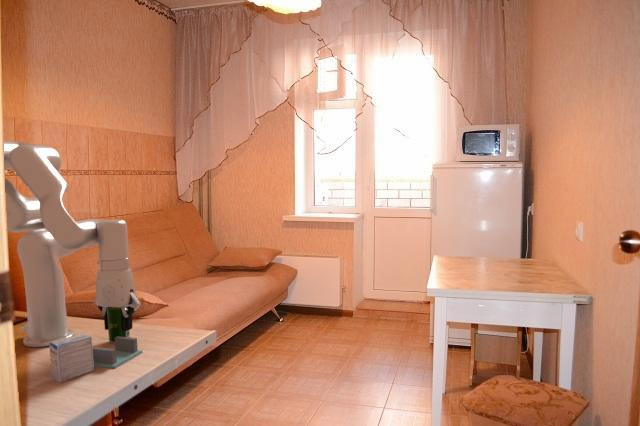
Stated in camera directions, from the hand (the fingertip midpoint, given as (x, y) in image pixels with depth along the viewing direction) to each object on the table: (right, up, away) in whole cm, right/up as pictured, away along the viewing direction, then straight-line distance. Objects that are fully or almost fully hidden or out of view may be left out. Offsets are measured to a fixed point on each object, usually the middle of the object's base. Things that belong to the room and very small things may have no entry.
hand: (118, 328), depth 135 cm
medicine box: (-2, -6, -22) cm, 22 cm away
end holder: (+5, -5, -13) cm, 14 cm away
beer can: (0, -4, 0) cm, 4 cm away
